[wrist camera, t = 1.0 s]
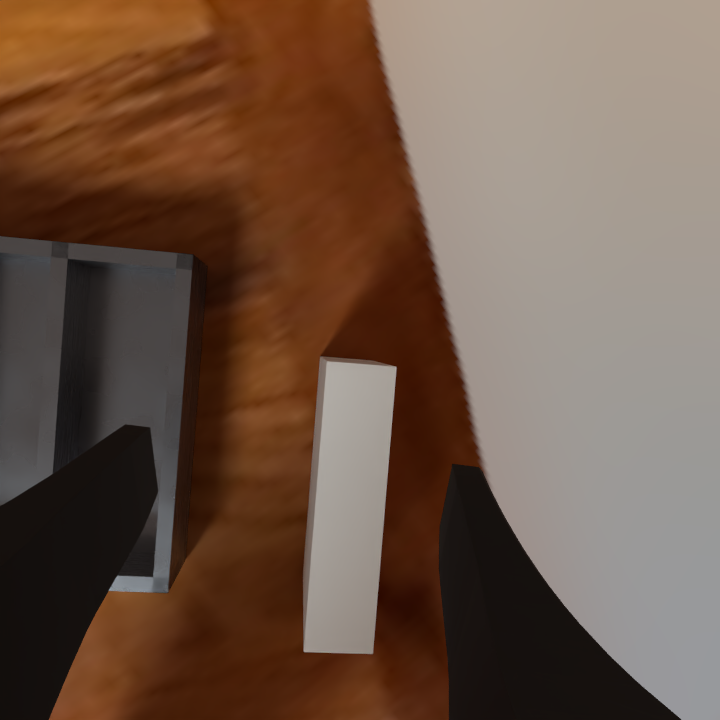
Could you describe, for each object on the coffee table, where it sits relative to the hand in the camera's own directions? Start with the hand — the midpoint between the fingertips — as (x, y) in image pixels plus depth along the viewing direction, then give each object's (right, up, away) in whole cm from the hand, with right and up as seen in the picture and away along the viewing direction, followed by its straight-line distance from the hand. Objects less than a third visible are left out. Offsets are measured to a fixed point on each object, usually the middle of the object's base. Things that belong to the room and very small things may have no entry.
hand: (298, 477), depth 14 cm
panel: (0, -2, +13) cm, 13 cm away
